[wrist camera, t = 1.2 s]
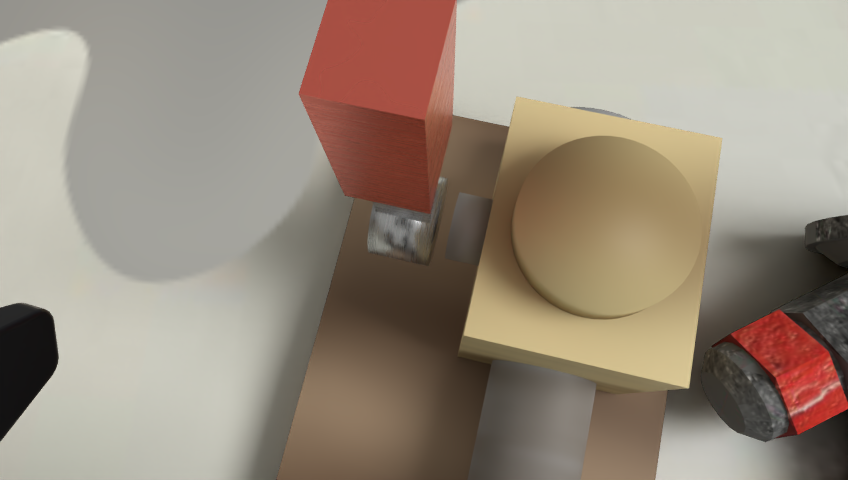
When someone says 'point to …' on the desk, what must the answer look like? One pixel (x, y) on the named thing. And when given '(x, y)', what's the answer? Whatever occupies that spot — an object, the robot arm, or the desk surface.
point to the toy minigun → (787, 355)
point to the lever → (387, 113)
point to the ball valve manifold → (518, 311)
